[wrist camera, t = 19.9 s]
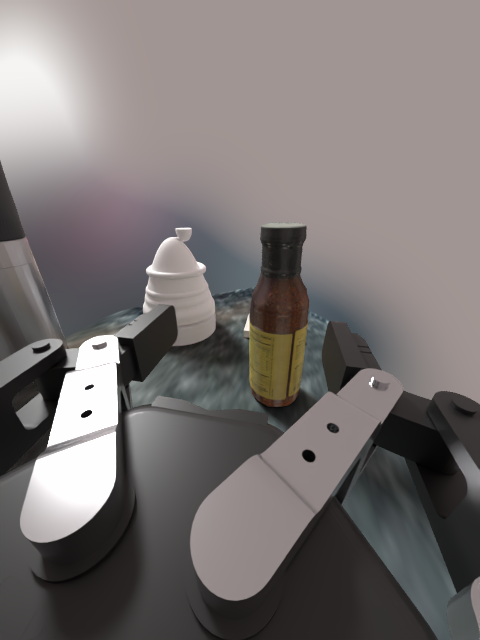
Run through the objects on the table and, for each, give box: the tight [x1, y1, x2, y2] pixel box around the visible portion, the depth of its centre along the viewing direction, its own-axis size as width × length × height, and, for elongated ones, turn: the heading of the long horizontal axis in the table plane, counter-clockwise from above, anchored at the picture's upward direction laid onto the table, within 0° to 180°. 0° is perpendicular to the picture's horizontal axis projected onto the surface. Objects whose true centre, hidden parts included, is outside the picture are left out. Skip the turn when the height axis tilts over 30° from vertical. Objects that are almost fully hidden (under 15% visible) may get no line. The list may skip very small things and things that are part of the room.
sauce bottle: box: [249, 223, 309, 407], centre depth 25 cm, size 6×6×20 cm
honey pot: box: [143, 228, 216, 346], centre depth 41 cm, size 13×13×18 cm
